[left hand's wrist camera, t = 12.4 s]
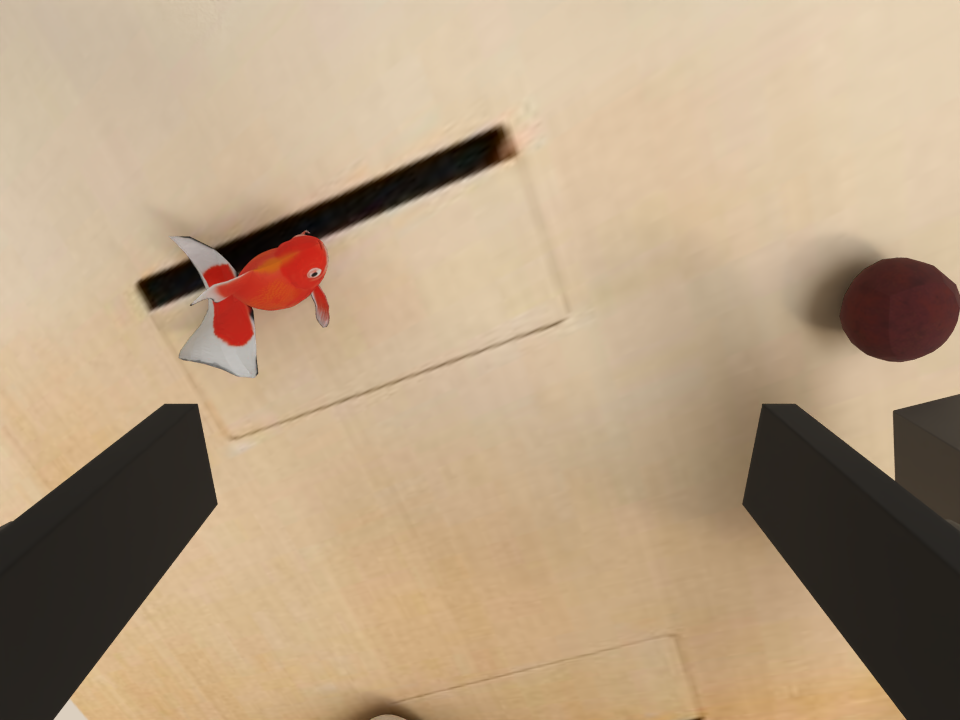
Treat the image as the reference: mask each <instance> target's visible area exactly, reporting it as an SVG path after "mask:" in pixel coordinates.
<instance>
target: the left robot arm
mask: <svg viewBox="0 0 960 720" xmlns="http://www.w3.org/2000/svg"><path fill="white" fill-rule="evenodd" d="M216 506H217V499H216V494H215V489H214V484H213V479H212V474H211V469H210V464H209V458H208V453H207V448H206V443H205V438H204V433H203V428H202V423H201V418H200V413H199V408H198V404H164V405H163V406H161V407H160V408H159V409H157V410H156V411H155V412H154V413H152V414H151V415H150V416H148V417H147V418H146V419H144V420H143V421H142V422H141V423H139V424H138V425H137V426H135V427H134V428H133V429H132V430H130V431H129V432H128V433H126V434H125V435H124V436H123V437H121V438H120V439H119V440H117V441H116V442H115V443H113V444H112V445H111V446H110V447H108V448H107V449H106V450H104V451H103V452H102V453H101V454H99V455H98V456H97V457H95V458H94V459H93V460H92V461H90V462H89V463H88V464H86V465H85V466H84V467H82V468H81V469H80V470H79V471H77V472H76V473H75V474H73V475H72V476H71V477H70V478H68V479H67V480H66V481H64V482H63V483H62V484H61V485H59V486H58V487H57V488H55V489H54V490H53V491H51V492H50V493H49V494H48V495H46V496H45V497H44V498H42V499H41V500H40V501H39V502H37V503H36V504H35V505H33V506H32V507H31V508H30V509H28V510H27V511H26V512H24V513H23V514H22V515H20V516H19V517H18V518H17V519H15V520H14V521H11V522H9V523H7V524H5V525H3V526H1V527H0V720H54V718H55V717H56V716H57V714H58V713H59V712H60V710H61V709H62V708H63V706H64V705H65V704H66V702H67V701H68V700H69V699H70V697H71V696H72V695H73V693H74V692H75V691H76V689H77V688H78V687H79V685H80V684H81V683H82V681H83V680H84V679H85V678H86V676H87V675H88V674H89V672H90V671H91V670H92V668H93V667H94V666H95V664H96V663H97V662H98V660H99V659H100V658H101V657H102V655H103V654H104V653H105V651H106V650H107V649H108V647H109V646H110V645H111V643H112V642H113V641H114V639H115V638H116V637H117V636H118V634H119V633H120V632H121V630H122V629H123V628H124V626H125V625H126V624H127V622H128V621H129V620H130V618H131V617H132V616H133V615H134V613H135V612H136V611H137V609H138V608H139V607H140V605H141V604H142V603H143V601H144V600H145V599H146V597H147V596H148V595H149V594H150V592H151V591H152V590H153V588H154V587H155V586H156V584H157V583H158V582H159V580H160V579H161V578H162V576H163V575H164V574H165V573H166V571H167V570H168V569H169V567H170V566H171V565H172V563H173V562H174V561H175V559H176V558H177V557H178V555H179V554H180V553H181V552H182V550H183V549H184V548H185V546H186V545H187V544H188V542H189V541H190V540H191V538H192V537H193V536H194V534H195V533H196V532H197V531H198V529H199V528H200V527H201V525H202V524H203V523H204V521H205V520H206V519H207V517H208V516H209V515H210V513H211V512H212V511H213V510H214V508H215V507H216ZM743 506H744V507H745V508H746V510H747V511H748V512H749V513H750V515H751V516H752V517H753V519H754V520H755V521H756V523H757V524H758V525H759V527H760V528H761V529H762V531H763V532H764V533H765V534H766V536H767V537H768V538H769V540H770V541H771V542H772V544H773V545H774V546H775V548H776V549H777V550H778V552H779V553H780V554H781V555H782V557H783V558H784V559H785V561H786V562H787V563H788V565H789V566H790V567H791V569H792V570H793V571H794V573H795V574H796V575H797V576H798V578H799V579H800V580H801V582H802V583H803V584H804V586H805V587H806V588H807V590H808V591H809V592H810V594H811V595H812V596H813V597H814V599H815V600H816V601H817V603H818V604H819V605H820V607H821V608H822V609H823V611H824V612H825V613H826V615H827V616H828V617H829V618H830V620H831V621H832V622H833V624H834V625H835V626H836V628H837V629H838V630H839V632H840V633H841V634H842V636H843V637H844V638H845V639H846V641H847V642H848V643H849V645H850V646H851V647H852V649H853V650H854V651H855V653H856V654H857V655H858V657H859V658H860V659H861V660H862V662H863V663H864V664H865V666H866V667H867V668H868V670H869V671H870V672H871V674H872V675H873V676H874V678H875V679H876V680H877V681H878V683H879V684H880V685H881V687H882V688H883V689H884V691H885V692H886V693H887V695H888V696H889V697H890V699H891V700H892V701H893V702H894V704H895V705H896V706H897V708H898V709H899V710H900V712H901V713H902V714H903V716H904V717H905V718H906V720H960V524H958V523H956V522H954V521H952V520H950V519H943V518H942V517H941V516H940V515H938V514H937V513H936V512H934V511H933V510H932V509H930V508H929V507H928V506H927V505H925V504H924V503H923V502H921V501H920V500H919V499H918V498H916V497H915V496H914V495H912V494H911V493H910V492H909V491H907V490H906V489H905V488H903V487H902V486H901V485H899V484H898V483H897V482H896V481H894V480H893V479H892V478H890V477H889V476H888V475H887V474H885V473H884V472H883V471H881V470H880V469H879V468H878V467H876V466H875V465H874V464H872V463H871V462H870V461H868V460H867V459H866V458H865V457H863V456H862V455H861V454H859V453H858V452H857V451H856V450H854V449H853V448H852V447H850V446H849V445H848V444H847V443H845V442H844V441H843V440H841V439H840V438H839V437H837V436H836V435H835V434H834V433H832V432H831V431H830V430H828V429H827V428H826V427H825V426H823V425H822V424H821V423H819V422H818V421H817V420H816V419H814V418H813V417H812V416H810V415H809V414H808V413H806V412H805V411H804V410H803V409H801V408H800V407H799V406H797V405H796V404H762V408H761V413H760V418H759V423H758V428H757V433H756V438H755V443H754V448H753V453H752V458H751V464H750V469H749V474H748V479H747V484H746V489H745V494H744V499H743Z"/></svg>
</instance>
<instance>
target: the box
mask: <svg viewBox="0 0 960 720" xmlns="http://www.w3.org/2000/svg"><path fill="white" fill-rule="evenodd" d="M893 429H894V459H895V481H896V482H897V483H898V484H899V485H901V486H902V487H903V488H905V489H906V490H907V491H909V492H910V493H911V494H912V495H914V496H915V497H916V498H918V499H919V500H920V501H921V502H923V503H924V504H925V505H927V506H928V507H929V508H930V509H932V510H933V511H934V512H936V513H937V514H938V515H940V516H941V517H942V518H943V519H950V520H952V521H954V522H956V523H958V524H960V394H958V395H954V396H950V397H946V398H942V399H938V400H934V401H930V402H926V403H922V404H918V405H914V406H910V407H906V408H902V409H898V410H894V411H893Z"/></svg>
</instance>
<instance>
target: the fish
mask: <svg viewBox="0 0 960 720" xmlns="http://www.w3.org/2000/svg"><path fill="white" fill-rule="evenodd" d="M305 232H308V231H304V232H303V233H302V234H300V235H296V236H295V237H293V238H292V239H291V240H289V241H287V242H284V243H282V244H281V245H280V246H279V247H278V248H274V249H271V250H268V251H266V252H263V253H261V254H259V255H258V256H256V257H255V258H253V259H252V260H251V261H250V262H249V263H248V264H247V265H246V266H245V267H244V268H243V270H242V271H241V272H240V274H239V275H238V273H237V272H236V271H235V270H234V268H233V267H232V266H231V265H230V263H229V262H228V261H227V260H226V259H225V258H224V257H223V256H222V255H220V254H219V253H218V252H217V251H215V250H214V249H213V248H212V247H210V246H208V245H206V244H204V243H202V242H200V241H198V240H196V239H194V238H191V237H180V236H168V237H170V238H171V239H172V240H173V241H174V242H175V243H176V244H177V245H178V246H179V247H180V248H181V249H182V250H183V251H184V252H185V253H186V254H187V256H188V257H189V259H190V260H191V262H192V263H193V265H194V266H195V267H196V269H197V270H198V272H199V274H200V277H201V279H202V281H203V283H204V285H205V287H206V291H204V292H203V293H202V294H201V295H200V296H199V297H198V298H197V299H196V300H195V301H194V302H193V303H192V304H191V305H190V306H192V305H194V304H196V303H198V302H200V301H202V300H204V299H208V303H209V306H208V311H207V313H206V315H205V317H204V319H203V321H202V323H201V325H200V326H199V327H198V329H197V330H196V331H195V332H194V333H193V335H192V336H191V337H190V338H189V339H188V341H187V342H186V344H185V345H184V346H183V348H182V349H181V351H180V353H179V358H180V359H182V360H186V361H193V362H198V363H203V364H207V365H210V366H213V367H216V368H220V369H222V370H225V371H227V372H229V373H231V374H233V375H235V376H238V377H251V378H255V377H256V375H257V374H258V368H257V359H256V337H255V325H254V314H253V309H252V307H254V308H257V309H263V310H279V309H285V308H289V307H292V306H295V305H296V304H298V303H299V302H301V301H302V300H304V299H306V298H307V297H308V296H309V295H310V294H311V296H312V299H313V301H314V303H315V306H316V318H317V320H318V322H319V323H320V325H321V326H322V327H327V325H328V324H329V305H328V302H327V299H326V296H325V294H324V293H323V291H322V289H321V288H320V286H319V284H320V282H321V281H322V279H323V278H324V275H325V273H326V270H327V266H328V253H327V249H326V247H325V246H324V244H323V242H322V241H320V240H319V239H318V238H316V237H312V236H307V235H304V234H305ZM308 233H310V232H308ZM310 234H311V233H310Z"/></svg>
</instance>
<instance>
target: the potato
mask: <svg viewBox="0 0 960 720" xmlns="http://www.w3.org/2000/svg"><path fill="white" fill-rule="evenodd" d="M959 311H960V294H959V291H958V289H957V286H956V284H955V283H954V282H952V281H951V280H950V279H949V278H948V277H946V276H945V275H944V274H943V273H942V272H941V271H939V270H938V269H937V268H936V267H935V266H933V265H930V264H927V263H924V262H920V261H916V260H913V259H909V258H891V259H882V260H880V261H878V262H876V263H875V264H873V265H871V266H869V267H867V268H866V269H864V270H863V271H862V272H861V273H860V274H859V275H858V276H857V277H856V278H855V279H854V280H853V282H852V283H851V285H850V287H849V289H848V290H847V292H846V294H845V295H844V299H843V303H842V308H841V312H840V320H841V324H842V328H843V330H844V331H845V333H846V335H847V336H848V338H849V339H850V341H851V342H852V343H853V344H854V345H855V346H856V347H857V348H859V349H860V350H861V351H863V352H864V353H865V354H867V355H869V356H872V357H875V358H878V359H882V360H886V361H891V362H904V361H909V360H914V359H917V358H920V357H922V356H925V355H927V354H929V353H931V352H933V351H935V350H936V349H938V348H939V347H940V346H942V345H943V344H944V343H945V342H946V341H947V339H948V338H949V336H950V335H951V333H952V332H953V330H954V328H955V326H956V324H957V321H958V316H959Z"/></svg>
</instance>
